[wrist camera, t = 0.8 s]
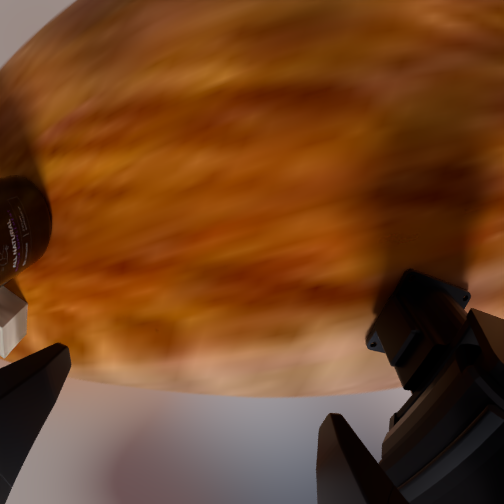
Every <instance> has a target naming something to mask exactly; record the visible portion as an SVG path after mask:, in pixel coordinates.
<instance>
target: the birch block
mask: <svg viewBox="0 0 504 504" xmlns="http://www.w3.org/2000/svg"><path fill="white" fill-rule="evenodd" d="M27 307H28V303H26V302H25V301H23V300H22V299H20V298H19V297H18V296H16V295H15V294H14V293H12V292H11V291H10V290H8V289H7V288H6V287H4V286H2V287H1V288H0V355H1V356H2V357H3V358H5V357H6V356H7V355H8V354H9V353H10V352H11V350H12V349H13V348H14V347H15V346H16V345H17V344H18V343H19V342H20V340H21V339H22V338H23V337H24V336H25V335H26V330H27Z"/></svg>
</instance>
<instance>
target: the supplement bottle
mask: <svg viewBox="0 0 504 504" xmlns="http://www.w3.org/2000/svg"><path fill="white" fill-rule="evenodd" d="M50 234H51V220H50V214H49V210H48V207H47V204H46V201H45V199H44V197H43V195H42V193H41V192H40V190H39V189H38V188H37V187H36V186H35V185H34V184H33V183H32V182H31V181H30V180H28V179H27V178H24V177H22V176H17V175H13V176H8V177H4V178H0V288H1V287H2V286H3V285H5V284H6V283H7V282H9V281H10V280H11V279H13V278H14V277H15V276H17V275H18V274H19V273H21V272H22V271H24V270H25V269H26V268H28V267H29V266H30V265H32V264H33V263H35V262H36V261H37V260H38V259H40V258H41V257H42V255H43V254H44V253H45V251H46V249H47V247H48V244H49V240H50Z"/></svg>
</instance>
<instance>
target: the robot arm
mask: <svg viewBox="0 0 504 504" xmlns="http://www.w3.org/2000/svg"><path fill="white" fill-rule="evenodd" d="M411 275H413V277H412V278H411V279H409V277H410V276H411ZM464 296H465V297H464ZM463 297H464V298H463ZM470 298H471V295H470V293H469V292H468V291H467V290H465V289H463V288H460V287H458V286H455V285H453V284H450V283H448V282H445V281H442V280H440V279H437V278H435V277H432V276H429V275H427V274H424V273H422V272H419V271H416V270H414V269H408V270H407V271H405V273H404V274H403V276H402V278H401V280H400V282H399V284H398V286H397V288H396V289H395V291H394V293H393V295H392V296H391V297H390V298H389V300H388V302H387V304H386V305H385V307H384V309H383V311H382V313H381V314H380V316H379V318H378V320H377V321H376V323H375V325H374V328H373V330H372V332H371V333H370V335H369V337H368V338H367V340H366V346H367V348H368V349H370V350H373V351H378V352H382V353H386V356H387V358H388V360H389V363H390V365H391V366H393V367H395V370H396V372H397V374H398V377H399V379H400V381H401V384H402V386H403V388H404V389H405V390H410V391H411V393H412V396H411V397H410V398H409V399H408V401H407V402H406V403H405V404H404V405H403V406H402V408H401V409H400V410H399V411H398V412H397V413H394V415H393V416H392V417H391V418H390V424H389V432H388V433H387V434H386V437H385V439H384V441H383V443H382V459H381V460H380V462H379V464H378V463H377V461H376V460H375V459H374V457H373V456H372V455H371V453H370V452H369V451H368V450H367V448H366V447H365V445H364V444H363V443H362V442H361V440H360V439H359V438H358V436H357V435H356V433H355V432H354V431H353V429H352V428H351V427H350V425H349V424H348V423H347V421H346V420H345V419H344V417H343V416H342V415H341V414H338V413H329V414H328V415H327V417H326V418H325V420H324V421H323V423H322V424H321V426H320V428H319V433H318V434H319V435H318V449H317V450H318V451H317V463H316V465H317V466H316V478H317V501H318V504H504V319H501V318H498V317H496V316H493V315H490V314H487V313H485V312H482V311H479V310H476V309H474V308H471V309H470V311H469V312H468V314H467V312H466V311H465V310H464V309H465V307H466V305H467V304H468V302H469V300H470ZM372 342H375V343H373V344H371V343H372ZM70 368H71V359H70V353H69V348H68V347H67V346H66V345H63V344H61V343H55V344H53V345H51V346H49V347H46V348H44V349H42V350H40V351H38V352H36V353H33V354H31V355H29V356H27V357H25V358H22V359H20V360H18V361H16V362H14V363H11V364H9V365H7V366H5V367H3V368H0V504H5V503H6V500H7V498H8V496H9V493H10V491H11V489H12V486H13V484H14V482H15V480H16V478H17V476H18V473H19V471H20V469H21V467H22V465H23V463H24V461H25V459H26V457H27V455H28V453H29V451H30V449H31V447H32V445H33V443H34V441H35V440H36V438H37V436H38V434H39V432H40V430H41V428H42V426H43V425H44V423H45V421H46V419H47V417H48V415H49V414H50V412H51V410H52V408H53V406H54V404H55V403H56V400H57V398H58V396H59V394H60V391H61V389H62V387H63V384H64V382H65V380H66V377H67V375H68V373H69V371H70Z"/></svg>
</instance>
